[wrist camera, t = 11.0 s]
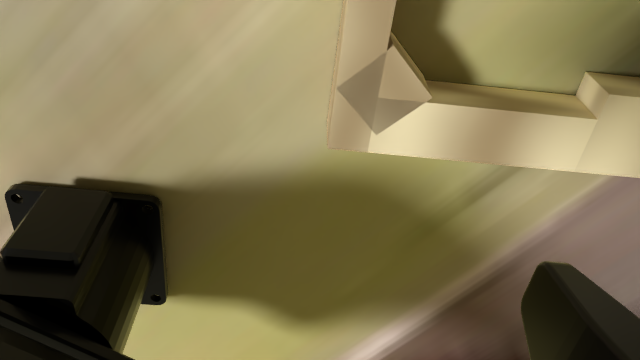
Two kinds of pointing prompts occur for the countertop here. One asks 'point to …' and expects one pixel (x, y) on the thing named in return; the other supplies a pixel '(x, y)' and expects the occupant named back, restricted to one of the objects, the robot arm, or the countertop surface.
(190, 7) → the countertop surface
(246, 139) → the countertop surface
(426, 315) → the countertop surface
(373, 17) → the wooden frame
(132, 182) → the countertop surface
